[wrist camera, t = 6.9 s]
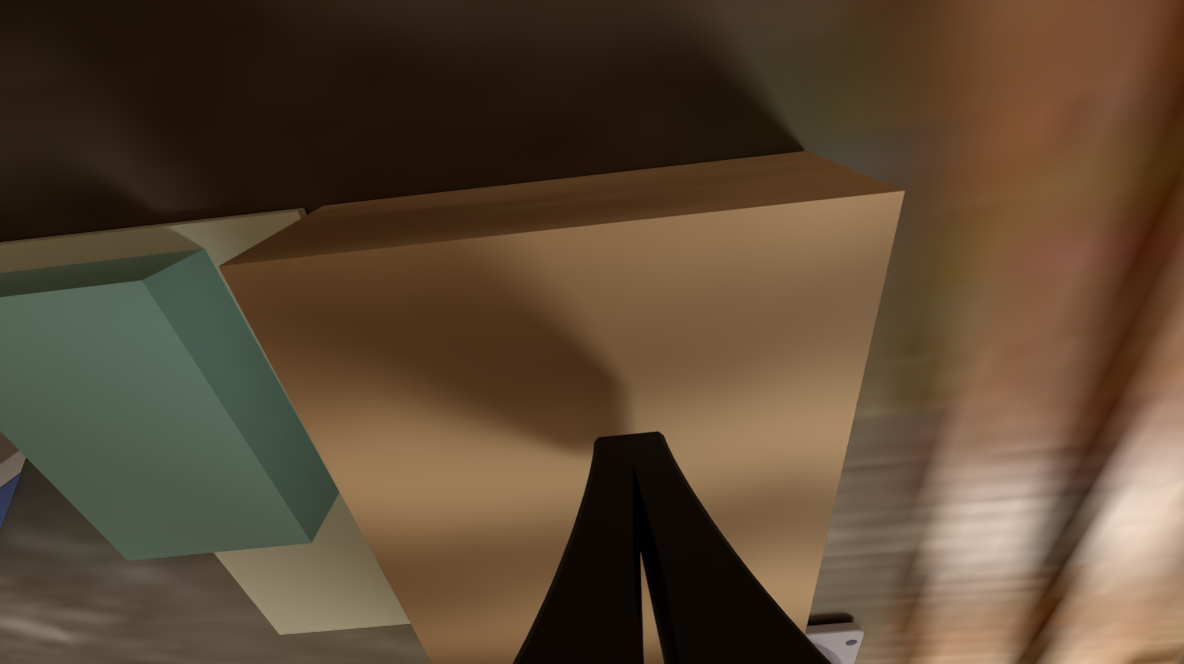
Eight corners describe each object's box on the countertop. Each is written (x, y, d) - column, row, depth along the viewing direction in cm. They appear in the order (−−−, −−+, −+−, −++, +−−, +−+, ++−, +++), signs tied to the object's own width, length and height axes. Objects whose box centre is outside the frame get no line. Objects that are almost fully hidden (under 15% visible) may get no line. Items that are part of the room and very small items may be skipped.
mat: (470, 611, 21) (469, 618, 21) (283, 627, 21) (279, 634, 21) (304, 207, 12) (297, 211, 12) (-19, 244, 12) (-33, 248, 12)
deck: (755, 587, 20) (791, 695, 17) (482, 610, 21) (462, 720, 17) (806, 150, 11) (905, 190, 8) (323, 205, 12) (217, 266, 8)
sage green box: (127, 560, 15) (174, 508, 17) (311, 542, 15) (339, 492, 17) (-117, 311, 10) (-19, 275, 12) (142, 280, 10) (204, 248, 12)
